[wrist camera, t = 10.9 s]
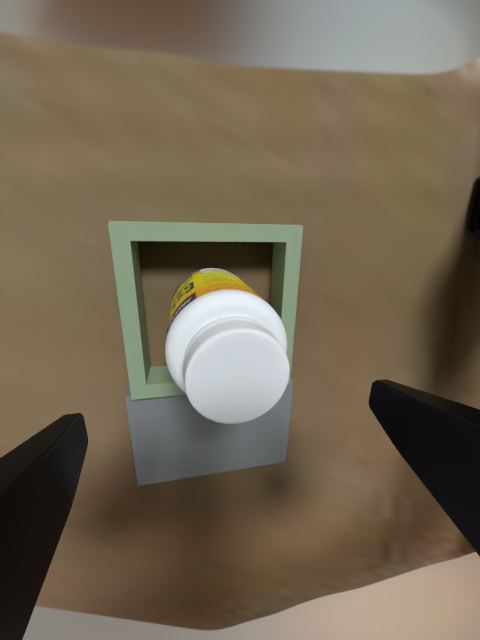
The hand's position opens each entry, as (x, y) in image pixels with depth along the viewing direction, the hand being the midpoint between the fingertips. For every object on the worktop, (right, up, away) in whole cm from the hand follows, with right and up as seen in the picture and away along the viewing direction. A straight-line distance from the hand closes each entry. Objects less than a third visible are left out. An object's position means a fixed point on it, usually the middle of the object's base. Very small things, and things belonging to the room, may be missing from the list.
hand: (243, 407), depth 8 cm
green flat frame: (-2, 0, +12) cm, 12 cm away
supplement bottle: (-2, +4, +11) cm, 12 cm away
